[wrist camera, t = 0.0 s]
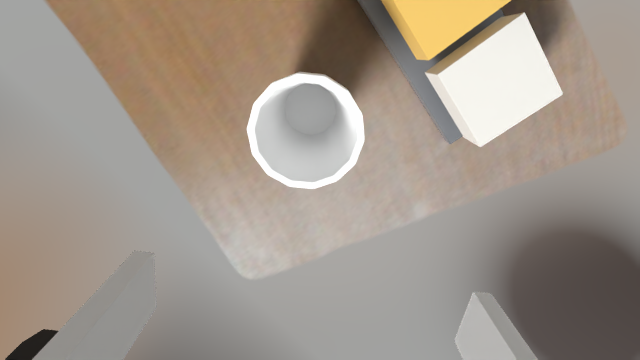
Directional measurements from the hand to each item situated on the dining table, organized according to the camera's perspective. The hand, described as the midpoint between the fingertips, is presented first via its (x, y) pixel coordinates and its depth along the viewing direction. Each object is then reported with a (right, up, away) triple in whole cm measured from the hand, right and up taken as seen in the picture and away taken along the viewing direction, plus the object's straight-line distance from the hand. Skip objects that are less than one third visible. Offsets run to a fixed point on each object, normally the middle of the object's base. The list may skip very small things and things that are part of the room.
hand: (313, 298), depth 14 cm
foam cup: (-1, +13, +25) cm, 28 cm away
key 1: (+17, +15, +20) cm, 31 cm away
